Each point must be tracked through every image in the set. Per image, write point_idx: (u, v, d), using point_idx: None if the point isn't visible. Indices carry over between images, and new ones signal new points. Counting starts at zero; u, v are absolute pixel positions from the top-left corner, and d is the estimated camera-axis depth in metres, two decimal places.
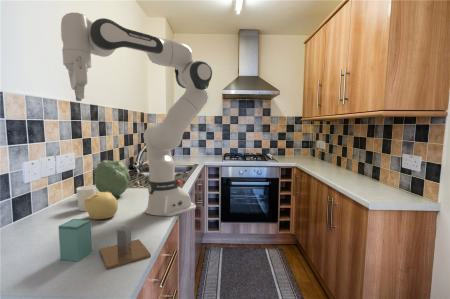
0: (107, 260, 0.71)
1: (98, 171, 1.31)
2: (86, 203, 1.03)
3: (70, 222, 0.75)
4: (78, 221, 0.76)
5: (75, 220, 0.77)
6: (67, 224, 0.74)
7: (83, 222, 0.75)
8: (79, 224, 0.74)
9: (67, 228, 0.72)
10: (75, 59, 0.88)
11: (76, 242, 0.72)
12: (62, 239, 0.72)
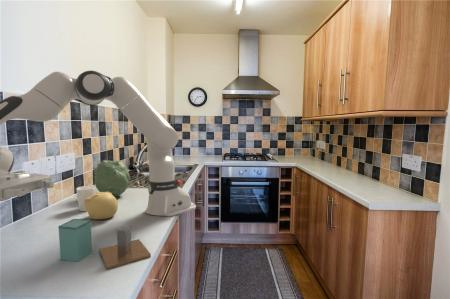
0: (107, 260, 0.71)
1: (98, 171, 1.31)
2: (86, 203, 1.03)
3: (70, 222, 0.75)
4: (78, 221, 0.76)
5: (75, 220, 0.77)
6: (67, 224, 0.74)
7: (83, 222, 0.75)
8: (79, 224, 0.74)
9: (67, 228, 0.72)
10: None
11: (76, 242, 0.72)
12: (62, 239, 0.72)
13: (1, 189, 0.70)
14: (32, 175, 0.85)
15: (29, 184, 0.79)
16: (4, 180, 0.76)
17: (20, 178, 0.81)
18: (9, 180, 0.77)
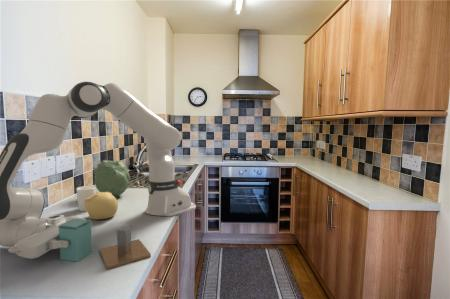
0: (107, 260, 0.71)
1: (98, 171, 1.31)
2: (86, 203, 1.03)
3: (70, 222, 0.75)
4: (78, 221, 0.76)
5: (75, 220, 0.77)
6: (67, 224, 0.74)
7: (83, 222, 0.75)
8: (79, 224, 0.74)
9: (67, 228, 0.72)
10: None
11: (76, 242, 0.72)
12: (62, 239, 0.72)
13: (44, 243, 0.69)
14: (68, 219, 0.84)
15: None
16: (44, 229, 0.75)
17: (57, 224, 0.80)
18: (48, 228, 0.77)
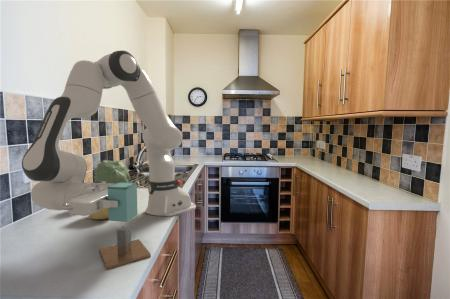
0: (107, 260, 0.71)
1: (98, 171, 1.31)
2: None
3: (117, 184, 0.75)
4: (125, 183, 0.76)
5: (121, 183, 0.77)
6: (115, 185, 0.74)
7: (130, 184, 0.75)
8: (127, 185, 0.74)
9: (116, 188, 0.72)
10: None
11: (125, 202, 0.72)
12: None
13: (96, 201, 0.69)
14: (110, 185, 0.84)
15: None
16: (91, 191, 0.75)
17: (102, 188, 0.80)
18: (94, 191, 0.77)
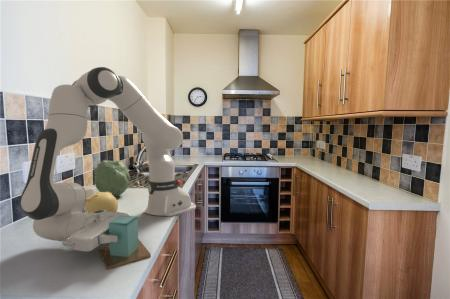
0: (107, 260, 0.71)
1: (98, 171, 1.31)
2: (86, 203, 1.03)
3: (118, 218, 0.76)
4: (126, 217, 0.77)
5: (122, 216, 0.78)
6: (116, 220, 0.75)
7: (131, 218, 0.76)
8: (128, 220, 0.75)
9: (117, 224, 0.73)
10: None
11: (126, 238, 0.73)
12: None
13: (97, 236, 0.70)
14: (111, 214, 0.85)
15: None
16: (92, 223, 0.76)
17: (103, 219, 0.81)
18: (95, 222, 0.78)
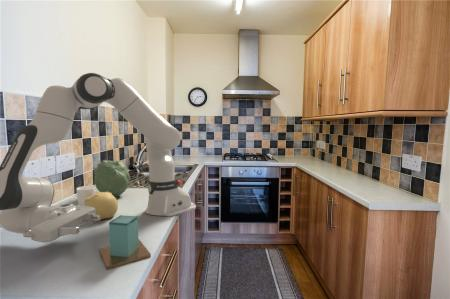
0: (107, 260, 0.71)
1: (98, 171, 1.31)
2: (86, 203, 1.03)
3: (118, 218, 0.76)
4: (126, 217, 0.77)
5: (122, 216, 0.78)
6: (116, 220, 0.75)
7: (131, 218, 0.76)
8: (128, 220, 0.75)
9: (118, 224, 0.73)
10: None
11: (127, 238, 0.73)
12: (112, 235, 0.74)
13: (57, 228, 0.72)
14: (77, 207, 0.87)
15: (78, 219, 0.81)
16: (55, 216, 0.79)
17: (68, 212, 0.83)
18: (59, 215, 0.80)
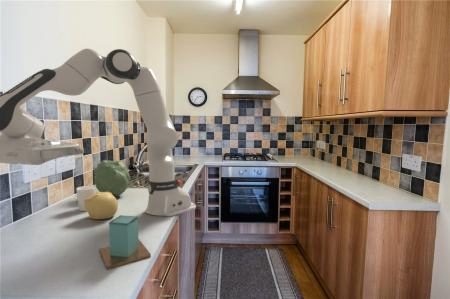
0: (107, 260, 0.71)
1: (98, 171, 1.31)
2: (86, 203, 1.03)
3: (118, 218, 0.76)
4: (126, 217, 0.77)
5: (122, 216, 0.78)
6: (116, 220, 0.75)
7: (131, 218, 0.76)
8: (128, 220, 0.75)
9: (118, 224, 0.73)
10: None
11: (127, 238, 0.73)
12: (112, 235, 0.74)
13: (39, 150, 0.75)
14: (62, 143, 0.90)
15: (62, 149, 0.84)
16: (39, 145, 0.81)
17: (52, 145, 0.86)
18: (43, 145, 0.82)
